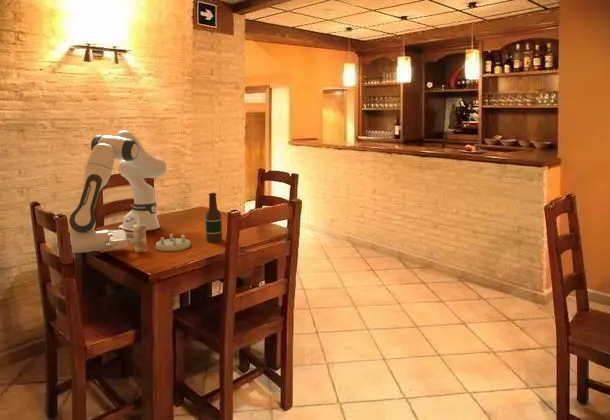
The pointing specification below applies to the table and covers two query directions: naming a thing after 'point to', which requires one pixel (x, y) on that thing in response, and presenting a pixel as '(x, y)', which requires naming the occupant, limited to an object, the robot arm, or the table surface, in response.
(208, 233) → the beer bottle
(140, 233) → the birch block
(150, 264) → the table surface
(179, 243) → the peg plinth
